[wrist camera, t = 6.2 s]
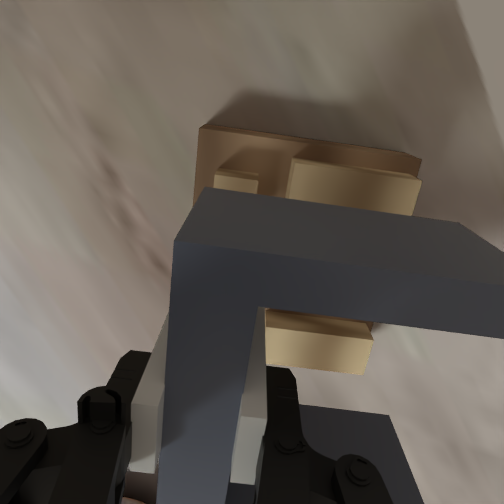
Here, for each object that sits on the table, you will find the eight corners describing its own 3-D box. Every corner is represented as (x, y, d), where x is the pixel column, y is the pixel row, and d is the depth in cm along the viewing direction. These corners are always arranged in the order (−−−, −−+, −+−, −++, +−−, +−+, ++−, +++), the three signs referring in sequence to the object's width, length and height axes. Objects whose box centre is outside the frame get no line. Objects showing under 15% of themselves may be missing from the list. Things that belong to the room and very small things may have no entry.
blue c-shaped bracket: (183, 414, 20) (154, 538, 15) (204, 186, 15) (173, 240, 10) (380, 438, 20) (425, 567, 15) (458, 222, 16) (565, 293, 10)
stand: (188, 322, 31) (176, 363, 26) (205, 123, 25) (193, 131, 20) (350, 342, 31) (367, 386, 26) (403, 152, 25) (436, 165, 21)
